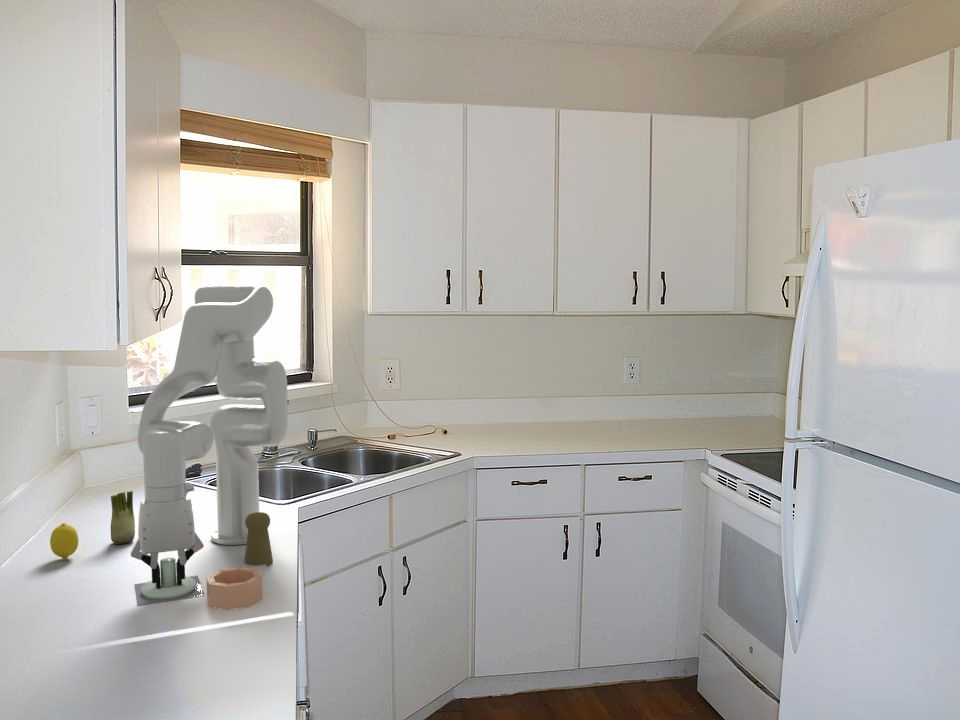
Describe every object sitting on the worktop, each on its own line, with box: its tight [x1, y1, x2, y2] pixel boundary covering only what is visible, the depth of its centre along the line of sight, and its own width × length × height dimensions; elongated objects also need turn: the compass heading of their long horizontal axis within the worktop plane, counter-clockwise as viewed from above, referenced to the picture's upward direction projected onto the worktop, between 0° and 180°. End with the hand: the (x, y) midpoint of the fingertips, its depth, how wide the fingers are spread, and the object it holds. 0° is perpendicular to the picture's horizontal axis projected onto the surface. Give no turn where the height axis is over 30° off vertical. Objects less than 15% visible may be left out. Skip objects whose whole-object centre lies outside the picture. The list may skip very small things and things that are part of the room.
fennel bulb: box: [110, 490, 136, 545], centre depth 195 cm, size 6×5×12 cm
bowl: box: [206, 566, 263, 610], centre depth 160 cm, size 10×10×5 cm
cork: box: [244, 511, 274, 567], centre depth 181 cm, size 6×6×11 cm
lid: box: [141, 557, 196, 600], centre depth 165 cm, size 10×10×6 cm
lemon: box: [49, 522, 79, 560], centre depth 184 cm, size 6×6×8 cm
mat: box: [134, 575, 205, 607], centre depth 165 cm, size 12×12×1 cm
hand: (168, 583), depth 165 cm, fingers open, 3 cm apart
